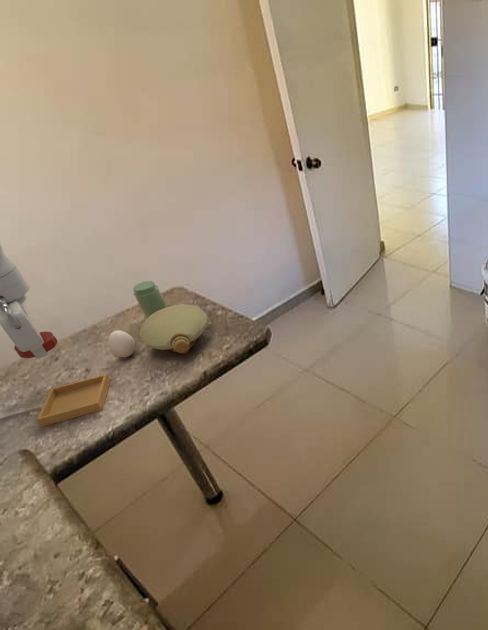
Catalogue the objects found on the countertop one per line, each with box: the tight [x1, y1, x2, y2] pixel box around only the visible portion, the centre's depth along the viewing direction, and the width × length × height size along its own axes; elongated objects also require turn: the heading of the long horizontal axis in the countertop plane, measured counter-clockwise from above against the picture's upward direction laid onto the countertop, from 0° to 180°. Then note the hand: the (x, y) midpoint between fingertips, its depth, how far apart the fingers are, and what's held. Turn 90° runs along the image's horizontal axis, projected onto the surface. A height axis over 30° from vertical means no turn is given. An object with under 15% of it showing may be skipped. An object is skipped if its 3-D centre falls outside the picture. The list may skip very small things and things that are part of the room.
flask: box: [139, 303, 208, 355], centre depth 109 cm, size 9×16×18 cm
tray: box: [36, 373, 112, 428], centre depth 96 cm, size 11×10×2 cm
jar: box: [132, 280, 168, 320], centre depth 120 cm, size 6×6×10 cm
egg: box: [107, 330, 136, 358], centre depth 107 cm, size 5×5×7 cm
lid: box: [13, 330, 58, 359], centre depth 87 cm, size 6×6×2 cm
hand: (38, 347), depth 87 cm, fingers closed on lid, 6 cm apart
